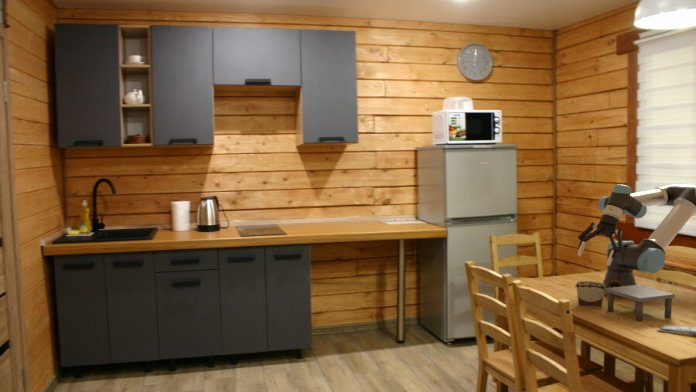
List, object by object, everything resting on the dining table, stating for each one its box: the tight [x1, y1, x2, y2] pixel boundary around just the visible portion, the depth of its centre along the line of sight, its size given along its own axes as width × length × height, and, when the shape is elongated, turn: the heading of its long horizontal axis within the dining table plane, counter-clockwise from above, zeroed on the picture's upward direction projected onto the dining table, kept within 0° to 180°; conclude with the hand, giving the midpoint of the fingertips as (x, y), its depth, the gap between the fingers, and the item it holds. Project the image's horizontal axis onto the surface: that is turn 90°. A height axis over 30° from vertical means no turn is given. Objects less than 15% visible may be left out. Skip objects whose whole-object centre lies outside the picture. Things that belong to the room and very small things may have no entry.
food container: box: [575, 280, 606, 309], centre depth 255 cm, size 12×6×10 cm, turn 71°
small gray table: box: [604, 284, 676, 322], centre depth 241 cm, size 18×18×10 cm
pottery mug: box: [604, 281, 625, 297], centre depth 271 cm, size 12×10×8 cm
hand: (593, 259), depth 262 cm, fingers open, 13 cm apart
